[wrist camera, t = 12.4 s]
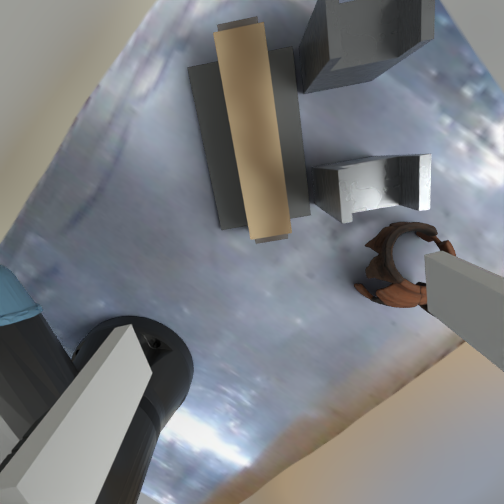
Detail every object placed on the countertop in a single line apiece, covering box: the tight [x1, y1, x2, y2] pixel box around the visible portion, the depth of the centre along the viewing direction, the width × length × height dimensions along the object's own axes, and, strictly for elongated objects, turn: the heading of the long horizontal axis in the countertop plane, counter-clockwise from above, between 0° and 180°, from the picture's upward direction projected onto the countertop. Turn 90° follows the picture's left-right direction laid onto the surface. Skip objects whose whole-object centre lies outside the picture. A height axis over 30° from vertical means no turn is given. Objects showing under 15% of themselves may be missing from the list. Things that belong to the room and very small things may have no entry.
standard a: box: [311, 154, 431, 223], centre depth 25 cm, size 7×4×10 cm, turn 100°
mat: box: [187, 46, 311, 230], centre depth 29 cm, size 10×16×1 cm, turn 10°
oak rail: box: [213, 16, 292, 244], centre depth 27 cm, size 4×18×4 cm, turn 10°
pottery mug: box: [354, 222, 456, 317], centre depth 31 cm, size 12×10×8 cm
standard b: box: [299, 0, 435, 94], centre depth 22 cm, size 7×4×10 cm, turn 100°
